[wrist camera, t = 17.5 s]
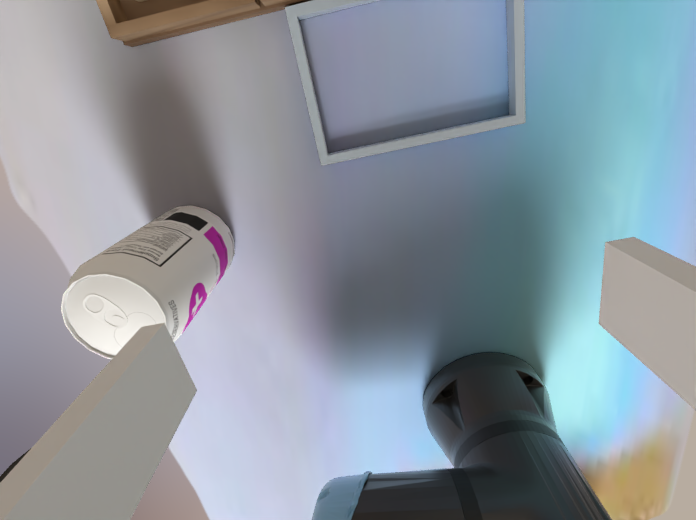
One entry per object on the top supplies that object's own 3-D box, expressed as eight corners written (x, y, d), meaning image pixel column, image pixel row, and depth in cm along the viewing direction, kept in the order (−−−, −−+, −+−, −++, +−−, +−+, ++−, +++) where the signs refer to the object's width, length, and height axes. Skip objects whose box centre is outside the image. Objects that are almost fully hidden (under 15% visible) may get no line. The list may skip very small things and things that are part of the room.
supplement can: (252, 241, 39) (200, 319, 25) (205, 290, 41) (134, 386, 27) (188, 186, 36) (91, 240, 23) (142, 242, 39) (29, 320, 25)
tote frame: (518, 121, 34) (525, 122, 32) (322, 163, 35) (321, 166, 34) (515, -45, 29) (523, -53, 28) (287, 11, 30) (284, 7, 29)
